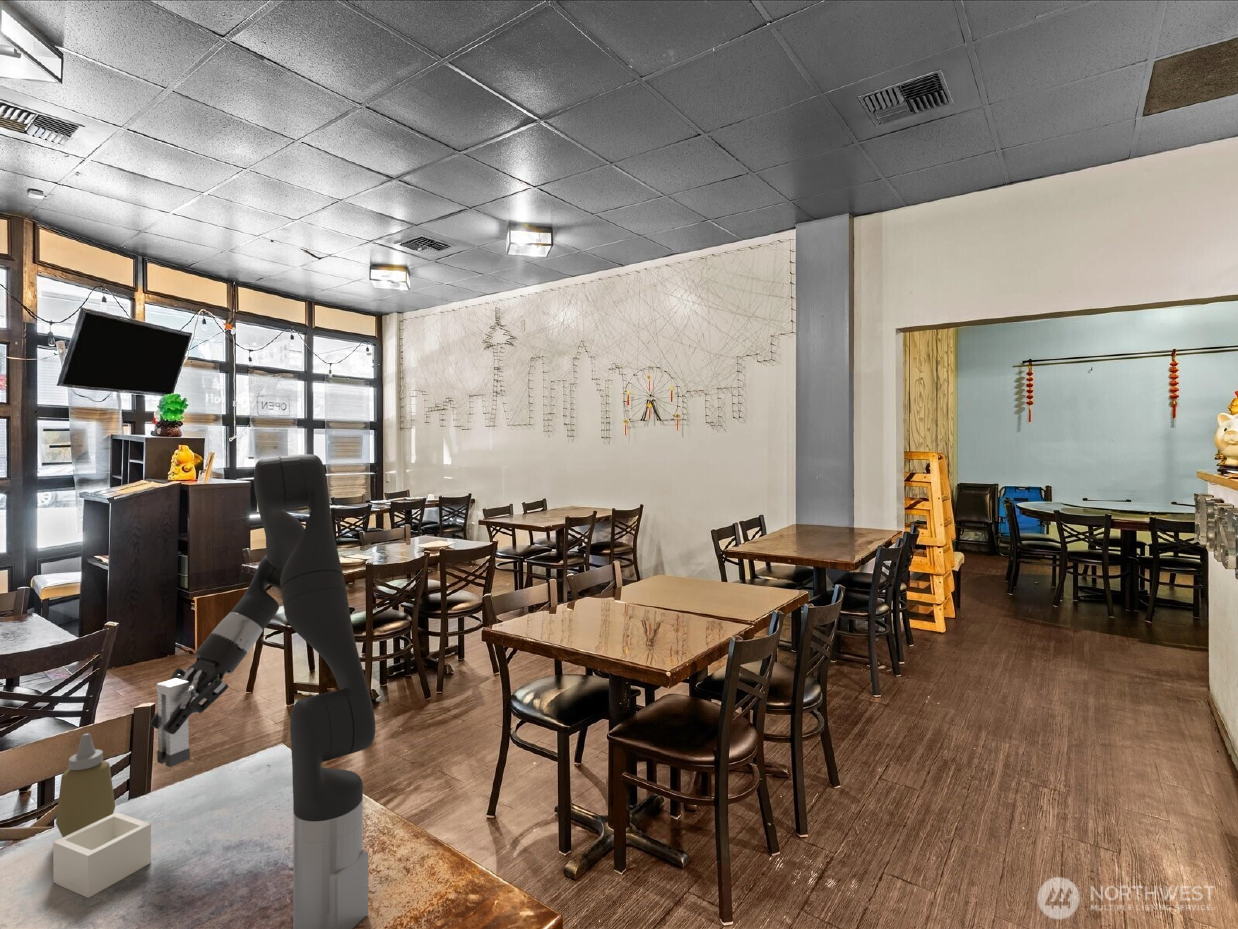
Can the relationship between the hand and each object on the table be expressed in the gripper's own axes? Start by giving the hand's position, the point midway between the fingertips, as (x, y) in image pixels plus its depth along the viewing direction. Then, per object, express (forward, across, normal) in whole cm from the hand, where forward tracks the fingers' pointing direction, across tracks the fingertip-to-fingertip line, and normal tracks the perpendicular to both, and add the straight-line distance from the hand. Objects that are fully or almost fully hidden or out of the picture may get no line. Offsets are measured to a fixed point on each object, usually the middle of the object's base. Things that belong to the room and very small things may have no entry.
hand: (161, 729), depth 110 cm
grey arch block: (+3, 0, +6) cm, 7 cm away
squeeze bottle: (+18, -14, +10) cm, 25 cm away
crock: (+20, +1, +8) cm, 22 cm away
